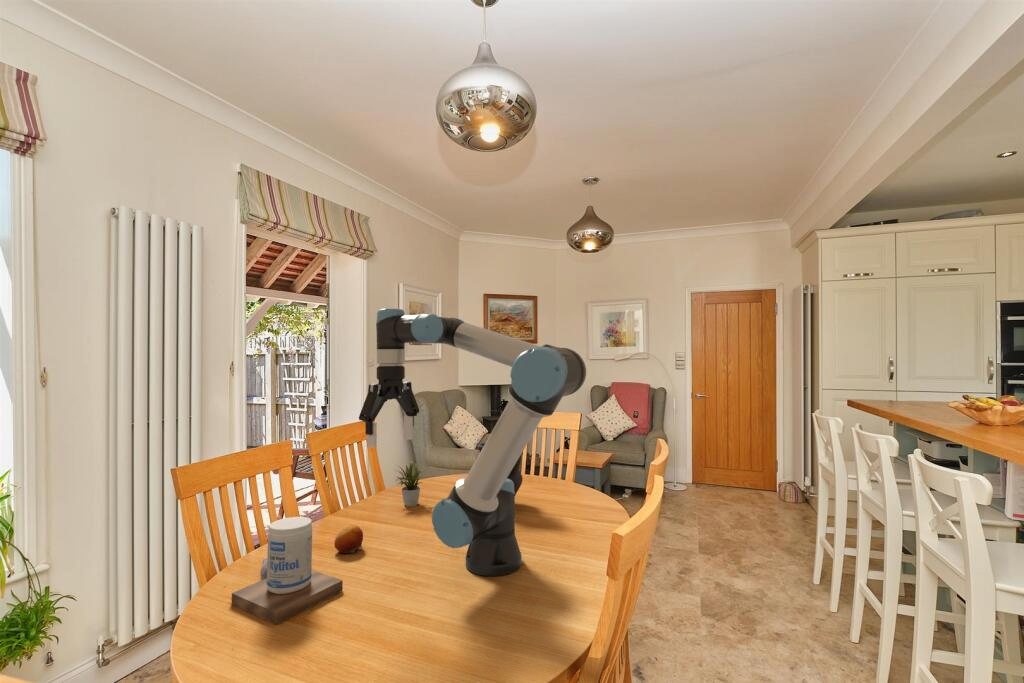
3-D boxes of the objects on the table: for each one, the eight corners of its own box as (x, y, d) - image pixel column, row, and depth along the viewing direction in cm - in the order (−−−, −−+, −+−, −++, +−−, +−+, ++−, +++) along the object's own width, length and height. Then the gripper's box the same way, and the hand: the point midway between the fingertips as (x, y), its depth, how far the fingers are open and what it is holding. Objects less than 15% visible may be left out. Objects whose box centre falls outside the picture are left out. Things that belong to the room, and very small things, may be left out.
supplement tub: (265, 599, 106) (265, 532, 107) (268, 581, 115) (268, 519, 115) (312, 590, 110) (312, 526, 111) (312, 573, 119) (312, 513, 119)
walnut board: (342, 590, 115) (342, 580, 115) (276, 624, 100) (276, 612, 101) (298, 574, 124) (298, 565, 124) (231, 604, 109) (231, 593, 109)
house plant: (389, 500, 188) (389, 458, 189) (424, 496, 193) (424, 456, 193) (391, 511, 175) (391, 466, 175) (429, 507, 179) (429, 463, 180)
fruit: (360, 552, 134) (347, 526, 135) (338, 565, 136) (325, 539, 137) (374, 541, 142) (361, 517, 143) (353, 553, 144) (341, 529, 145)
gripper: (412, 364, 144) (412, 435, 143) (344, 366, 122) (344, 449, 122) (431, 364, 140) (431, 437, 139) (364, 366, 119) (364, 452, 118)
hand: (390, 443), depth 130 cm, fingers open, 13 cm apart
